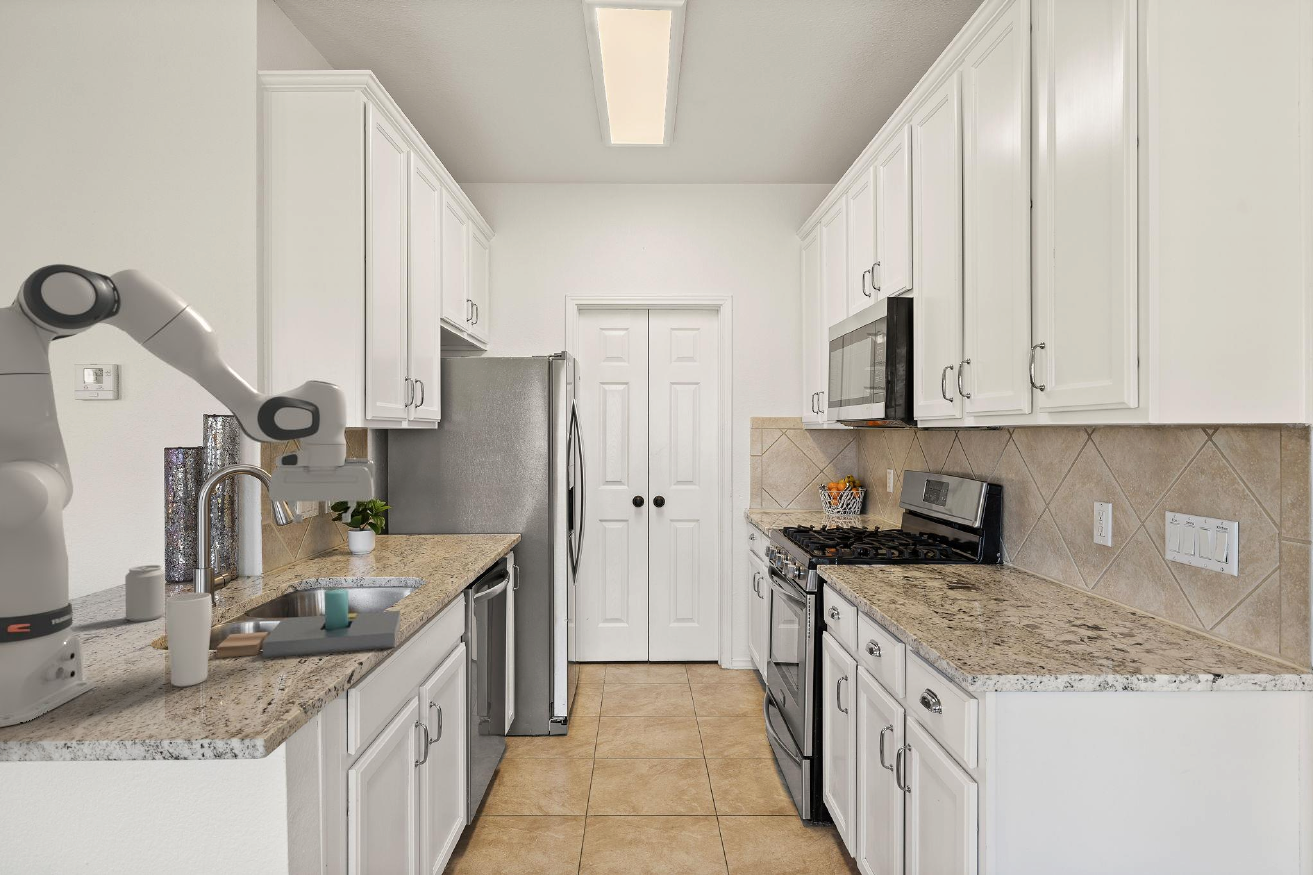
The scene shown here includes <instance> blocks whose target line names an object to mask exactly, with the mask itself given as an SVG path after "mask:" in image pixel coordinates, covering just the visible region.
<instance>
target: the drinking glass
mask: <svg viewBox="0 0 1313 875" xmlns="http://www.w3.org/2000/svg"><path fill="white" fill-rule="evenodd" d="M212 620H213V602H212V594H211V593H208V592H188V593H181V594H176V595H172V596H170V597H167V598H165V629H166V638H167V647H168V649H167V650H168V655H169V656H168V657H169V665H170V666H169V667H170V683H171V685H173V686H175V687H180V688H181V687H192V686H196V685H198V684H202V683H203V682H205V681H206V680H207V678H208V675H209V674H208V667H209V666H208V665H209V653H210V642H211V641H210V640H211V633H212V631H211V630H212Z"/></svg>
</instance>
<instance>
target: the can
mask: <svg viewBox="0 0 1313 875" xmlns="http://www.w3.org/2000/svg"><path fill="white" fill-rule="evenodd" d="M128 571H129V572H128V573H126V575H125V578H124V580H125V618H126V619H128V620H129V621H130V622H136V623H137V622H140V623H141V622H148V621H154V620H159V619H160V618H161V617H162V616H163V615H164V614H166V572H165V571H164V570H163V569H162V565H160V564H151V565H149V564H147V565H139V566H134V567H131V568H129V569H128Z"/></svg>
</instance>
